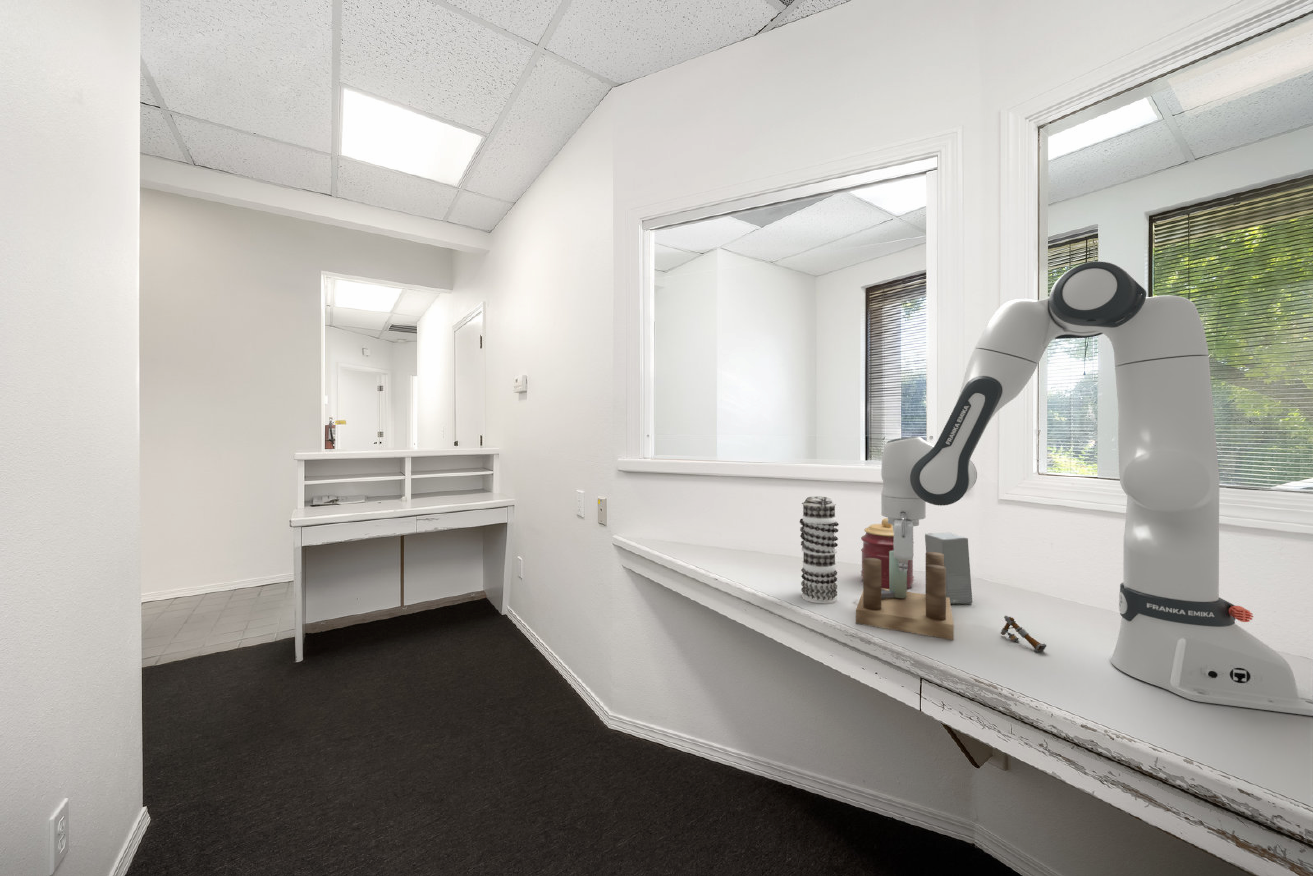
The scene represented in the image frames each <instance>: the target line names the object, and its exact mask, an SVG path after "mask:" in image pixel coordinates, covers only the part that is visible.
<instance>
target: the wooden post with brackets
mask: <svg viewBox="0 0 1313 876" xmlns="http://www.w3.org/2000/svg"><path fill="white" fill-rule="evenodd" d="M1004 621H1005V625H1004V626H1003V628H1002V629H1001V631H1000V634H1001V635H1002V636H1005V635H1006V634H1007V636H1008V639H1010V640H1011V641H1012V642H1013V643H1014V642H1015V643H1017V644H1019V643H1020V640H1019V639H1020V637H1017V636H1016V635H1015V633H1011V632H1009V629H1011V630H1012V629H1014V630H1015V632H1016V633H1017V634H1019V636H1021V637H1022V639H1025V640H1026V641H1027V643H1029V644H1030V645H1031V647H1032V648H1033V649H1034V650H1033V652H1034V653H1040V652H1044V651H1045V649H1046V647H1047V645H1048V644H1046V643H1041V642H1039V641H1037V640H1036V639H1035V638H1033V637H1032V636H1031V634H1030V633H1028V632H1027V631H1026V630H1025V629H1024V628H1023V627H1022V626H1020V625H1019V624H1017V622H1016V620H1015V618H1014V617H1011V616H1008V615H1004Z"/></svg>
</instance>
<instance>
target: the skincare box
mask: <svg viewBox="0 0 1313 876" xmlns="http://www.w3.org/2000/svg"><path fill="white" fill-rule="evenodd" d="M924 539H925V540H924V541H925V543H924V544H925V553H926V552H937V553H941V554H944V567H945V568H946V597H949V598H950V605H951V604H971V605H972V604H973V592H972V589H973V588H972V578H971V565H970V551H969V538H968V537H965V536H961V535H958V534H955V533H952V532H933V533H932V532H930V533H925V534H924Z"/></svg>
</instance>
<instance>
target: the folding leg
mask: <svg viewBox="0 0 1313 876" xmlns="http://www.w3.org/2000/svg"><path fill="white" fill-rule="evenodd" d="M907 592H908V588H907V571H900V570H899V562H898V559H896V558H894V551H889V590H888V591H881V598H891V597H896V598H906V597H907Z"/></svg>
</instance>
